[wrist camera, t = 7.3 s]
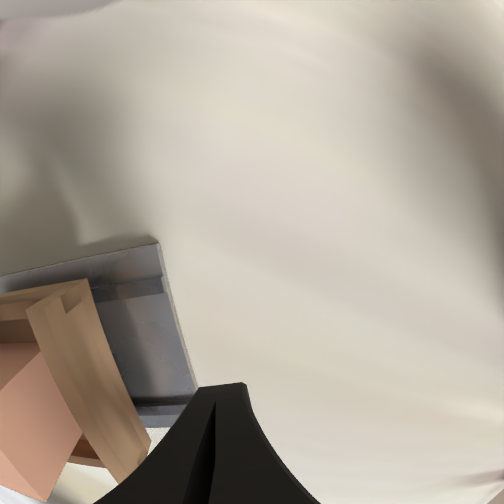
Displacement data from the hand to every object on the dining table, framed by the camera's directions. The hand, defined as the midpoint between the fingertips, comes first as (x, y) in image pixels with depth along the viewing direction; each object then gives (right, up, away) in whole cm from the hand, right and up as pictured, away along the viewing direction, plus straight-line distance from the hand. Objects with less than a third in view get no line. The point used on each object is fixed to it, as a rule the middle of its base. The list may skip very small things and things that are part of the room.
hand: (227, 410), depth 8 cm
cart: (-9, -1, +5) cm, 10 cm away
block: (-9, -1, +2) cm, 9 cm away
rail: (-14, -1, +5) cm, 14 cm away
